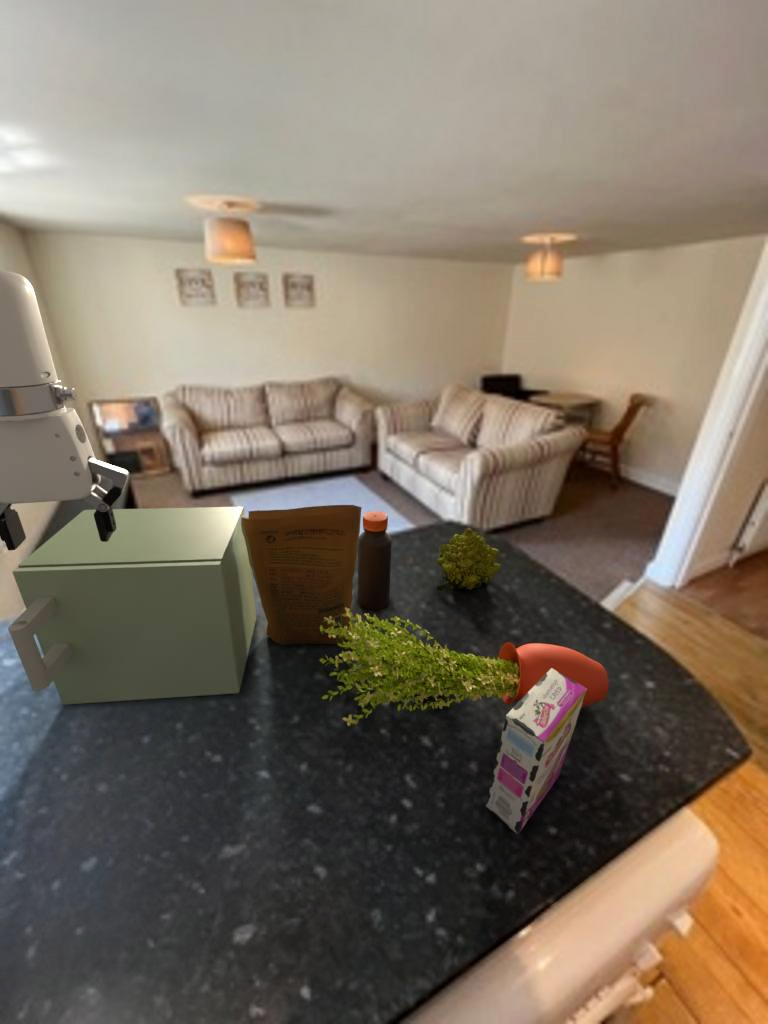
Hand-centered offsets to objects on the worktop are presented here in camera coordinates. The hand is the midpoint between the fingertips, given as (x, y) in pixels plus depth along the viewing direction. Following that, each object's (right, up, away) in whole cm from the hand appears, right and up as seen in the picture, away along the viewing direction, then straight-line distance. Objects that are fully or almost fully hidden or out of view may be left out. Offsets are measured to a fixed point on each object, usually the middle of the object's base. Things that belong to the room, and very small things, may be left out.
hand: (63, 540), depth 55 cm
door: (+3, -27, +13) cm, 30 cm away
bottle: (+37, -16, +40) cm, 57 cm away
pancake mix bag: (+25, -20, +29) cm, 44 cm away
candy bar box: (+58, -33, +4) cm, 67 cm away
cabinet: (+2, -22, +25) cm, 33 cm away
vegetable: (+58, -13, +48) cm, 77 cm away
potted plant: (+51, -26, +19) cm, 61 cm away
